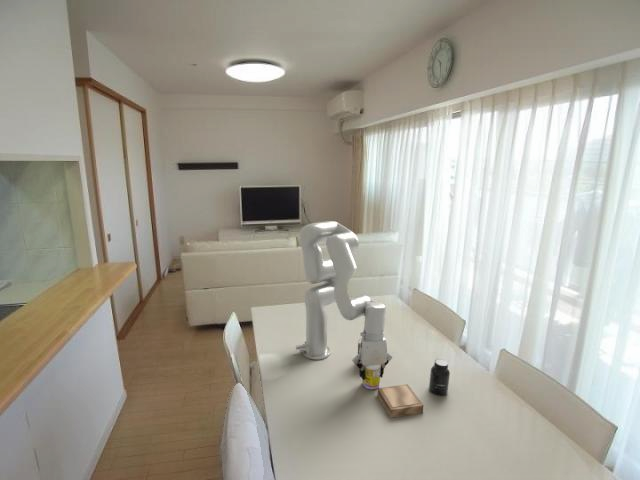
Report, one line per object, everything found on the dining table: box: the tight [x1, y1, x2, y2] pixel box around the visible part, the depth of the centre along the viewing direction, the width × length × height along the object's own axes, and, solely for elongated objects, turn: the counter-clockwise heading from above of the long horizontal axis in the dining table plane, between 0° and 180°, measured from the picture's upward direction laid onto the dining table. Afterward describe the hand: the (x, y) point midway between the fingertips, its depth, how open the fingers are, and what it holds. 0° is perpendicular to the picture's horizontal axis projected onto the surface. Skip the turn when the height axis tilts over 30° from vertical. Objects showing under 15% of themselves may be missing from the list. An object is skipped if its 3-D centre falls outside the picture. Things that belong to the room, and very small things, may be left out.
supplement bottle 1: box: [361, 364, 381, 390], centre depth 134 cm, size 7×7×13 cm
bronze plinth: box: [376, 384, 424, 419], centre depth 125 cm, size 12×12×3 cm
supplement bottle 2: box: [428, 358, 451, 396], centre depth 132 cm, size 7×7×12 cm
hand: (371, 376), depth 135 cm, fingers closed on supplement bottle 1, 6 cm apart
